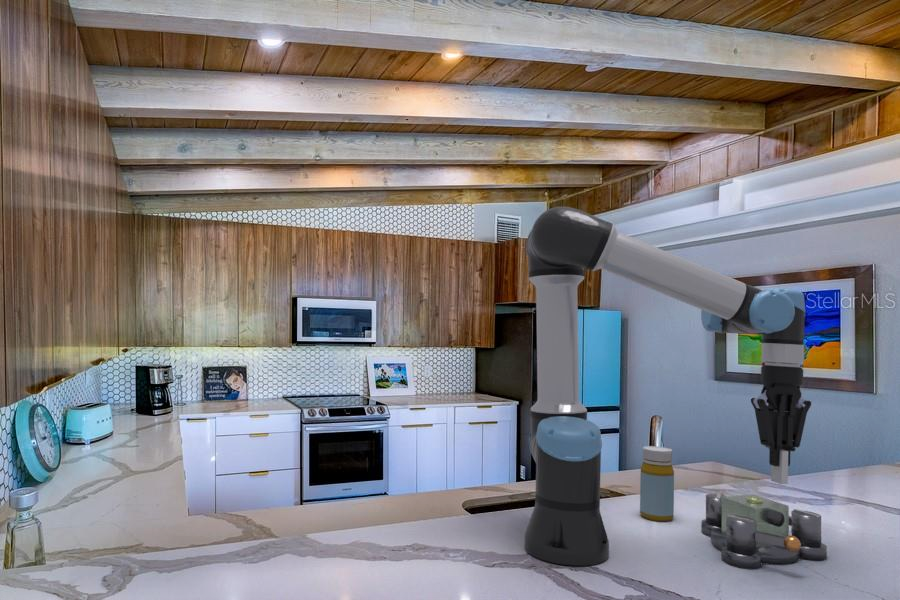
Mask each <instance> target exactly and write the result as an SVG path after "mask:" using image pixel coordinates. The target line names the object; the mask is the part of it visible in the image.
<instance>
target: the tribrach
mask: <svg viewBox="0 0 900 600" xmlns="http://www.w3.org/2000/svg"><path fill="white" fill-rule="evenodd" d="M728 515H732V516H743V517H748V518H751V519H753V520H755V521H756V531H760V532H765V533H769V534H774V535H779V536H783V537H786V536H790V535H789V531H790V530H789V529H790V528H789V515H790V514H789V505H787V504H784V503H781V502H778V501H774V500H771V499H768V498H766V497H763V496H759V495H757V494H754V493H753V494H742V495H725V496H724V497H722V526H715V525H711V524H709V523H707V522H706V518H704V519H702V520H701V524H700V525H701V530H700V531H701V533H702V534H703V535H705V536H708V537H710V539H711V541H710V543H711V544H710V545H711V546H712V547H713V548H714V549H716V550H717V551H719V552H720V555H721V558H720V559H721V561H722V562H724V563H725V564H727V565H729V566H732V567H735V568H740V569H746V570H757V569H760V568H762V564H765V565H778V566H780V565H781V566H782V565H783V566H785V565H792V564H796V563H798V562H799V561H800V560H801V559H802V560H807V561H813V562H814V561H815V562H822V561H826V560H827V556H828V555H827V554H828V553H827V552H828V551H827V545H826V544H824V543H822V542H821V546H820V547H810V546H804V545H801V548H800V550H798V551H797V552H791V551H789V550H787V549H786V548H785V547H781V546H777V545H773V544H768V543H764V542H760V541H756V553H755V554H741V553H736V552H733V551H731V550H729V549H727V548H726V517H727V516H728Z"/></svg>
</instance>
